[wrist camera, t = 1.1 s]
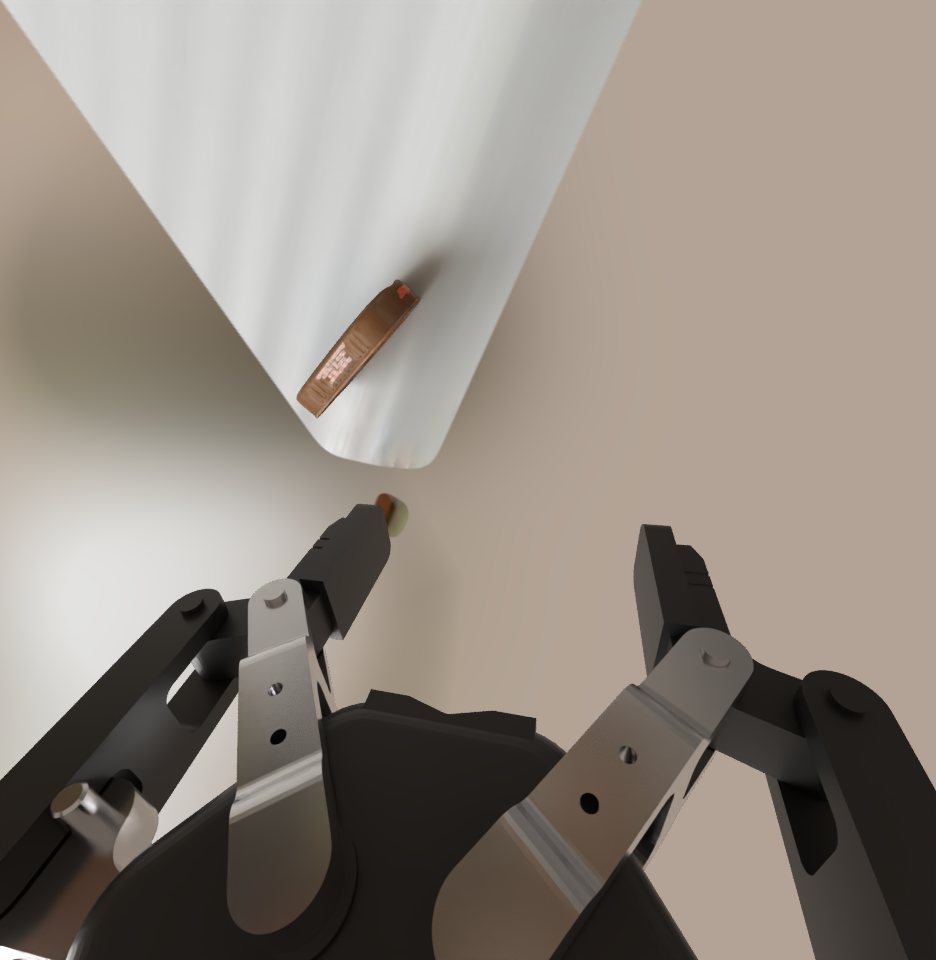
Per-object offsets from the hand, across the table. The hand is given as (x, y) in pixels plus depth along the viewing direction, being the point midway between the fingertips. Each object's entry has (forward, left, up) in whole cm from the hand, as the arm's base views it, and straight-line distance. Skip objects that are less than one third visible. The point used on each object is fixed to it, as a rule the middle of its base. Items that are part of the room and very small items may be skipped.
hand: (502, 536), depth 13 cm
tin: (-9, -12, -30) cm, 34 cm away
